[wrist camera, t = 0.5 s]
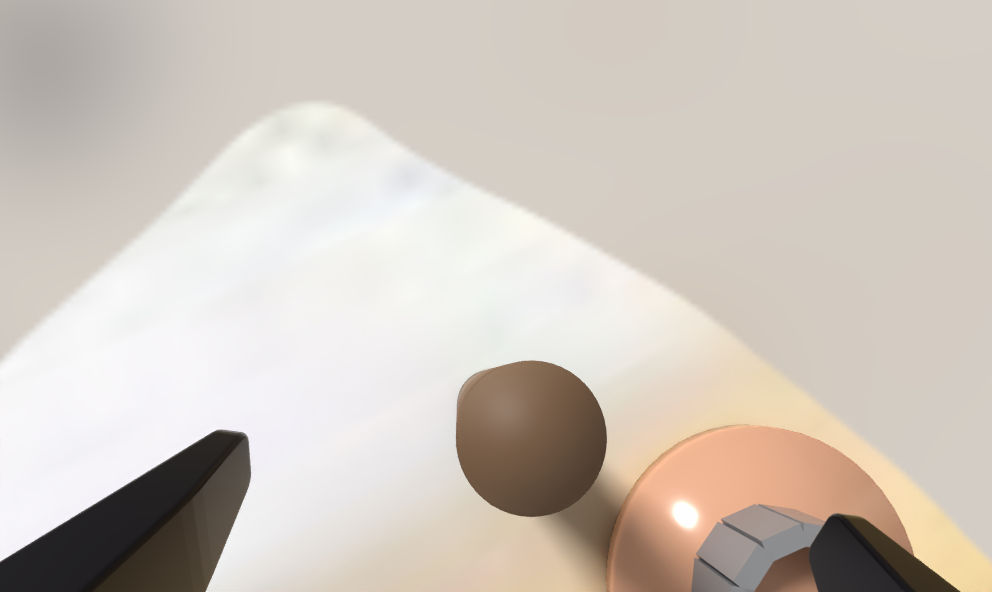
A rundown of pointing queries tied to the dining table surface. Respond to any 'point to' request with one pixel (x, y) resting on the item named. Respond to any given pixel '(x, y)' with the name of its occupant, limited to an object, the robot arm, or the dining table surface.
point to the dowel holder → (738, 513)
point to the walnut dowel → (529, 437)
